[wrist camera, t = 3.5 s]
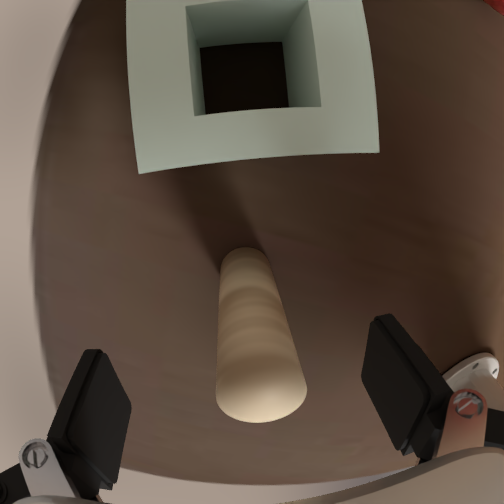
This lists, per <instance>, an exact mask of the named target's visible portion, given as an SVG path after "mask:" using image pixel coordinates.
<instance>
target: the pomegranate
mask: <svg viewBox="0 0 504 504" xmlns="http://www.w3.org/2000/svg"><path fill="white" fill-rule="evenodd" d="M483 1H484V2H485V3H487V4H489V5H490V6H491V7H492V8H493V9H495V10H496V11H497V12H499V13H500V14H502V15H503V16H504V0H483Z"/></svg>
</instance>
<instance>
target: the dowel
mask: <svg viewBox="0 0 504 504" xmlns="http://www.w3.org/2000/svg"><path fill="white" fill-rule="evenodd" d="M306 393H307V386H306V382H305V379H304V375H303V372H302V369H301V365H300V362H299V359H298V355H297V352H296V349H295V345H294V342H293V339H292V335H291V332H290V329H289V326H288V322H287V319H286V316H285V312H284V309H283V306H282V303H281V299H280V296H279V293H278V290H277V286H276V283H275V280H274V277H273V273H272V270H271V267H270V264H269V261H268V259H267V257H266V256H265V255H264V254H263V253H262V252H261V251H259V250H257V249H254V248H251V247H241V248H237V249H235V250H233V251H231V252H230V253H228V254H227V255H226V257H225V258H224V259H223V261H222V264H221V270H220V291H219V314H218V342H217V377H216V400H217V403H218V405H219V407H220V408H221V409H222V411H223V412H225V413H226V414H227V415H229V416H231V417H233V418H235V419H237V420H241V421H245V422H254V423H259V422H268V421H273V420H277V419H280V418H282V417H285V416H287V415H289V414H290V413H292V412H293V411H295V410H296V409H297V408H298V407H299V406H300V405H301V404H302V402H303V401H304V399H305V397H306Z"/></svg>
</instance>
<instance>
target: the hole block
mask: <svg viewBox="0 0 504 504" xmlns="http://www.w3.org/2000/svg"><path fill="white" fill-rule="evenodd" d="M126 39H127V64H128V80H129V94H130V105H131V116H132V125H133V134H134V142H135V150H136V158H137V165H138V172H139V174H142V173H148V172H154V171H160V170H166V169H173V168H179V167H186V166H193V165H201V164H209V163H217V162H226V161H235V160H244V159H255V158H266V157H279V156H294V155H311V154H335V153H379V132H378V116H377V103H376V92H375V82H374V73H373V65H372V57H371V50H370V44H369V37H368V31H367V26H366V20H365V15H364V10H363V5H362V0H126ZM258 42H282V46H283V54H284V63H285V72H286V82H287V92H288V102H289V108H272V109H257V110H245V111H234V112H224V113H216V114H208V115H206V113H205V103H204V92H203V82H202V71H201V59H200V48H202V47H210V46H219V45H229V44H241V43H258Z"/></svg>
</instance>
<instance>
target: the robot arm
mask: <svg viewBox="0 0 504 504" xmlns="http://www.w3.org/2000/svg"><path fill="white" fill-rule="evenodd" d="M498 372H499V363H498V361H497V359H496V358H495V357H494V356H493V355H492V354H490V353H479V354H476V355H473V356H471V357H469V358H467V359H465V360H463V361H461V362H460V363H458V364H457V365H455V366H454V367H453V368H451V369H450V370H449V371H447V372H446V373H445V374H444V375H443V376H442V375H441V374H440V373H439V371H438V370H437V369H436V368H435V366H434V365H433V364H432V362H431V361H430V360H429V358H428V357H427V356H426V355H425V353H424V352H423V351H422V349H421V348H420V347H419V346H418V345H417V344H416V343H415V342H414V341H413V339H412V338H411V337H410V336H409V334H408V333H407V332H406V331H405V329H404V328H403V327H402V326H401V325H400V323H399V322H398V321H397V320H396V318H395V317H394V316H393V315H392V314H390V313H389V314H385V315H380V316H376V317H375V318H374V321H372V322H371V323H370V328H369V334H368V340H367V346H366V352H365V358H364V363H363V368H362V374H361V378H362V382H363V384H364V386H365V388H366V390H367V392H368V394H369V396H370V398H371V400H372V402H373V404H374V406H375V408H376V410H377V412H378V414H379V416H380V418H381V420H382V422H383V424H384V426H385V428H386V430H387V432H388V435H389V437H390V439H391V441H392V443H393V445H394V447H395V449H396V450H401V452H402V454H403V456H405V455H407V454H410V453H412V452H415V454H416V456H417V457H418V459H417V462H416V465H415V467H412V468H410V469H407V470H405V471H402V472H399V473H396V474H393V475H391V476H388V477H385V478H382V479H379V480H376V481H373V482H369V483H367V484H363V485H360V486H356V487H353V488H349V489H346V490H342V491H338V492H335V493H330V494H327V495H322V496H318V497H312V498H307V499H303V500H297V501H292V502H285V503H279V504H504V389H503V387H502V386H501V385H500V384H499V383H498V381H497V380H496V378H497V375H498ZM130 414H131V402H130V400H129V398H128V396H127V394H126V393H125V391H124V389H123V387H122V385H121V383H120V381H119V379H118V377H117V375H116V373H115V370H114V368H113V366H112V364H111V362H110V360H109V358H108V356H107V354H106V353H103V352H102V350H100V349H87V350H85V351H84V353H83V355H82V357H81V359H80V361H79V363H78V365H77V367H76V369H75V371H74V374H73V376H72V378H71V380H70V382H69V385H68V387H67V389H66V391H65V394H64V396H63V398H62V400H61V403H60V405H59V407H58V410H57V412H56V415H55V417H54V420H53V422H52V425H51V427H50V430H49V432H48V435H47V436H48V437H47V440H46V441H45V440H43V439H32V440H29V441H28V442H26V443H25V444H24V445H23V446H22V448H21V450H20V452H19V463H18V464H17V465H15V466H13V467H11V468H9V469H7V470H5V471H4V472H2V473H0V504H110V503H104V502H103V501H102V499H101V498H100V496H99V495H98V494H99V489H107V490H112V487H113V483H114V484H115V483H116V482H117V479H118V473H119V468H120V463H121V457H122V452H123V447H124V442H125V437H126V433H127V428H128V423H129V419H130Z"/></svg>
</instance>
